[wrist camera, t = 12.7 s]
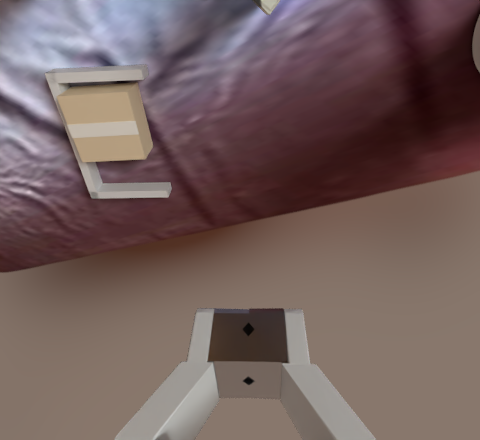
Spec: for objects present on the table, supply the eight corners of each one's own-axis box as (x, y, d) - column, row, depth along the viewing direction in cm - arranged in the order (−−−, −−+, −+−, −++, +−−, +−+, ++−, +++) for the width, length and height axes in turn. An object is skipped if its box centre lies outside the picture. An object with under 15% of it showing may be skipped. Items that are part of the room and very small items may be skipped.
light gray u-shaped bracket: (146, 64, 42) (141, 69, 40) (171, 188, 53) (168, 197, 51) (54, 68, 43) (44, 73, 41) (97, 190, 54) (91, 198, 52)
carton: (138, 81, 44) (127, 91, 40) (154, 145, 49) (145, 159, 46) (72, 86, 45) (55, 96, 41) (94, 148, 50) (81, 162, 46)
